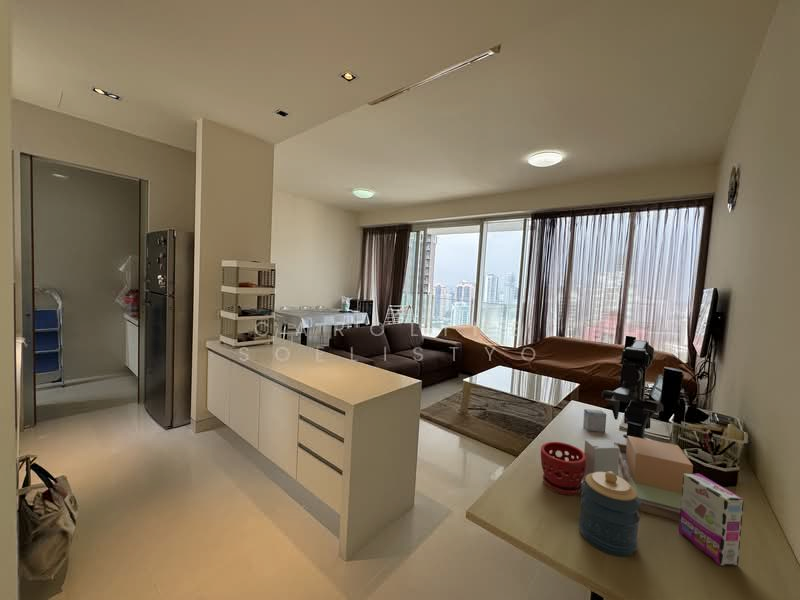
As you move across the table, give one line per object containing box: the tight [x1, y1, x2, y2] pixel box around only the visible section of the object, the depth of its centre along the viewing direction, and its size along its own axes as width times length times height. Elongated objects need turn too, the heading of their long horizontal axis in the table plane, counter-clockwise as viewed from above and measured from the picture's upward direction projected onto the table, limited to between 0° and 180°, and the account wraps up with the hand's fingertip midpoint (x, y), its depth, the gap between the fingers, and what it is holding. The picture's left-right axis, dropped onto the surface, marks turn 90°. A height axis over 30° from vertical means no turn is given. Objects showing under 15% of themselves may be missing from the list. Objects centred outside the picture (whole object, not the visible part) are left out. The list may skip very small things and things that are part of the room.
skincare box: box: [582, 439, 620, 483], centre depth 108 cm, size 8×6×15 cm
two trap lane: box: [613, 442, 682, 522], centre depth 112 cm, size 42×20×3 cm, turn 154°
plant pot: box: [540, 441, 586, 496], centre depth 107 cm, size 13×13×12 cm
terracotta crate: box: [625, 436, 694, 494], centre depth 115 cm, size 15×15×10 cm
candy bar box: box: [678, 472, 745, 567], centre depth 83 cm, size 11×5×16 cm, turn 5°
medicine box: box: [582, 408, 607, 433], centre depth 152 cm, size 8×4×9 cm, turn 84°
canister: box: [578, 471, 641, 558], centre depth 85 cm, size 13×13×18 cm
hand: (628, 423), depth 124 cm, fingers open, 9 cm apart
